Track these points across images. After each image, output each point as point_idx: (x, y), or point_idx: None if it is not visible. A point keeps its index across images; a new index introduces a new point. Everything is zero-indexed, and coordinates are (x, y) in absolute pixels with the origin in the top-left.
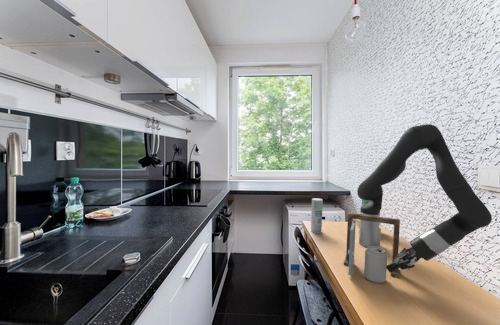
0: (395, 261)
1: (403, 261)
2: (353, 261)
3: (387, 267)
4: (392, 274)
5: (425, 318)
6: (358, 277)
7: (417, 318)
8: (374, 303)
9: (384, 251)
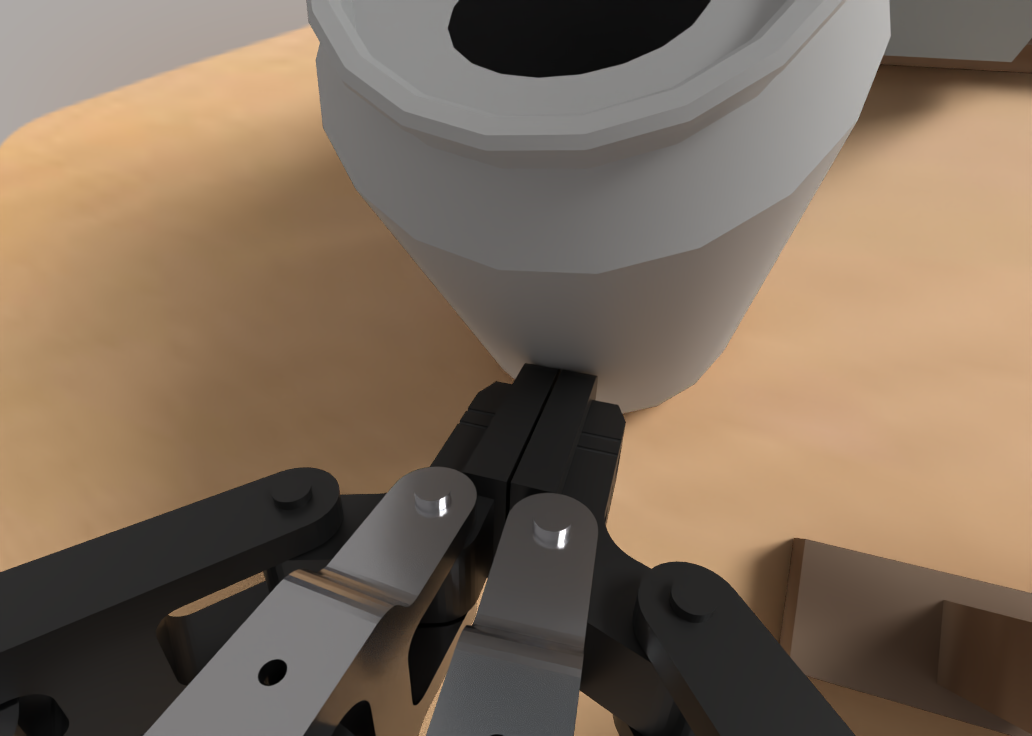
0: (418, 485)
1: (31, 595)
2: (892, 23)
3: (522, 374)
4: (798, 562)
5: None
6: None
7: (2, 521)
8: (157, 225)
9: (428, 109)
